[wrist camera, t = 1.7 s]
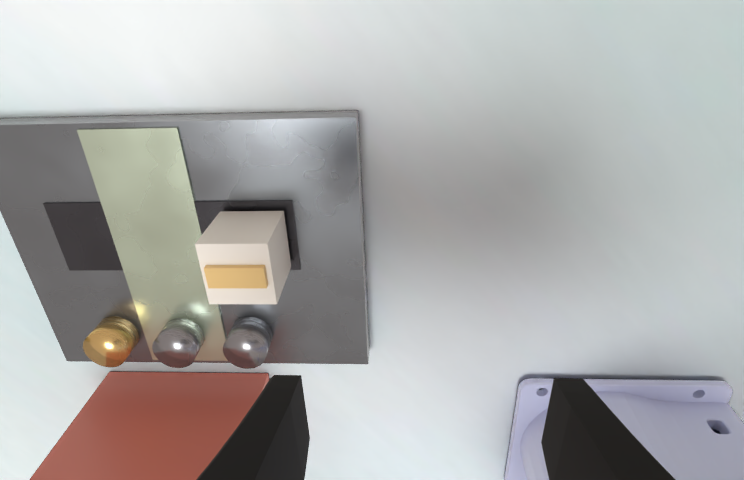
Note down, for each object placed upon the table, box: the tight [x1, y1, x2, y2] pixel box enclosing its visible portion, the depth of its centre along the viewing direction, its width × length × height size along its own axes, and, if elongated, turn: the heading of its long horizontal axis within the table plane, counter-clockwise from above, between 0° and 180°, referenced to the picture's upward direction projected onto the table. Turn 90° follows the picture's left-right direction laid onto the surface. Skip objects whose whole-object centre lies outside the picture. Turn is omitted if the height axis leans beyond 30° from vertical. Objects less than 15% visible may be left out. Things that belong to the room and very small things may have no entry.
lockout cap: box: [30, 372, 269, 480], centre depth 22 cm, size 8×6×6 cm
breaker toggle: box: [195, 211, 291, 304], centre depth 17 cm, size 2×2×3 cm
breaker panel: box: [0, 110, 369, 369], centre depth 19 cm, size 14×11×2 cm
